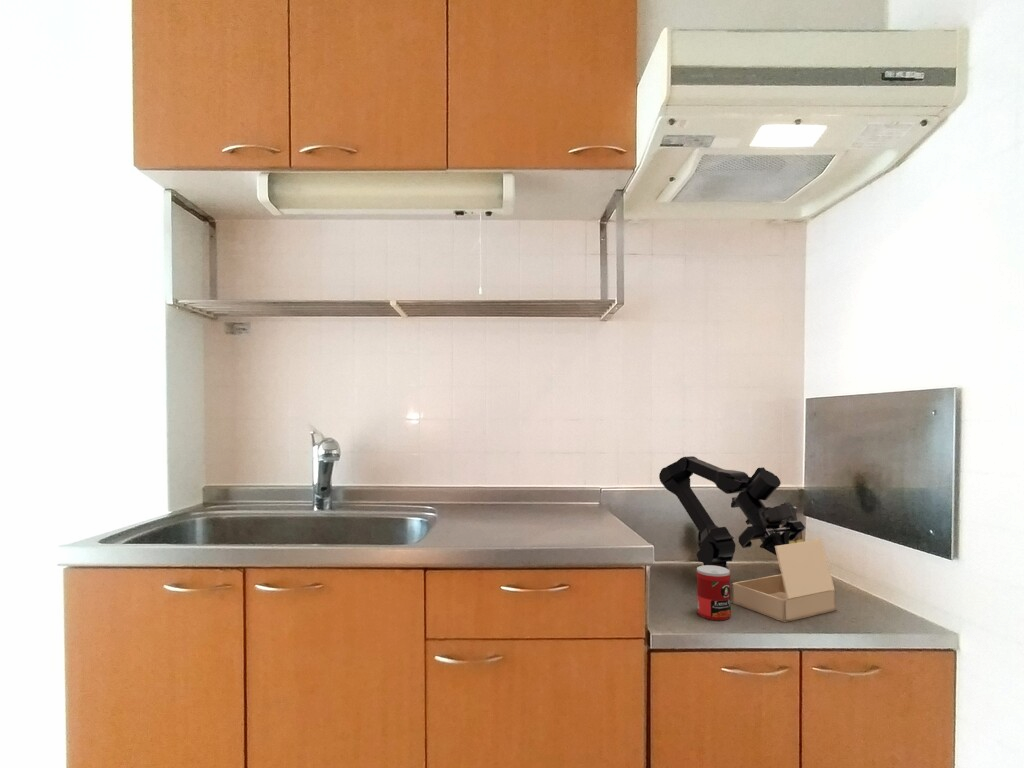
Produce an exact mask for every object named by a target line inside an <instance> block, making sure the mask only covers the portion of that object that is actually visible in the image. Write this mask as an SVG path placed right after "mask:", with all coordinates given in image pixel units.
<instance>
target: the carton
mask: <svg viewBox="0 0 1024 768" xmlns="http://www.w3.org/2000/svg"><path fill="white" fill-rule="evenodd" d="M836 592H837V591H836V589H835V588H834V589H833V590H828V591H824V592H819V593H814V594H809V595H804V596H800V597H795V598H790V599H787V597H786V593H785V588H784V584H783V580H782V576H781V573H780V574H775V575H769V576H764V577H758V578H751V579H748V580H743V581H737V582H736V581H735V582H732V583H731V604H734V605H737V606H739V607H742V608H745V609H748V610H750V611H754V612H755V613H759V614H760V615H764V616H767V617H769V618H772V619H775V620H777V621H780V622H783V623H788V622H791V621H796V620H800V619H805V618H810V617H813V616H814V617H815V616H818V615H819V616H820V615H822V614H827V613H828V614H829V613H831V612H835V611H837V598H836V594H837V593H836Z"/></svg>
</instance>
